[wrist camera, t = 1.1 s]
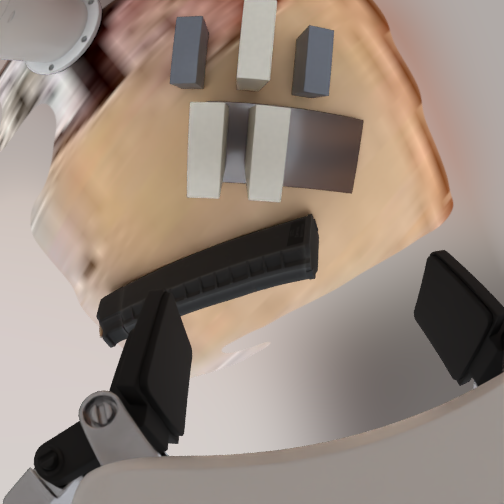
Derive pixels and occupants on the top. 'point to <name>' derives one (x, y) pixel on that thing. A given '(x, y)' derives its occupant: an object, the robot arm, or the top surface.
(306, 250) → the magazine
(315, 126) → the shelf board
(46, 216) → the top surface
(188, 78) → the grey book
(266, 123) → the white book
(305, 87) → the grey book
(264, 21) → the white book
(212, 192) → the white book
